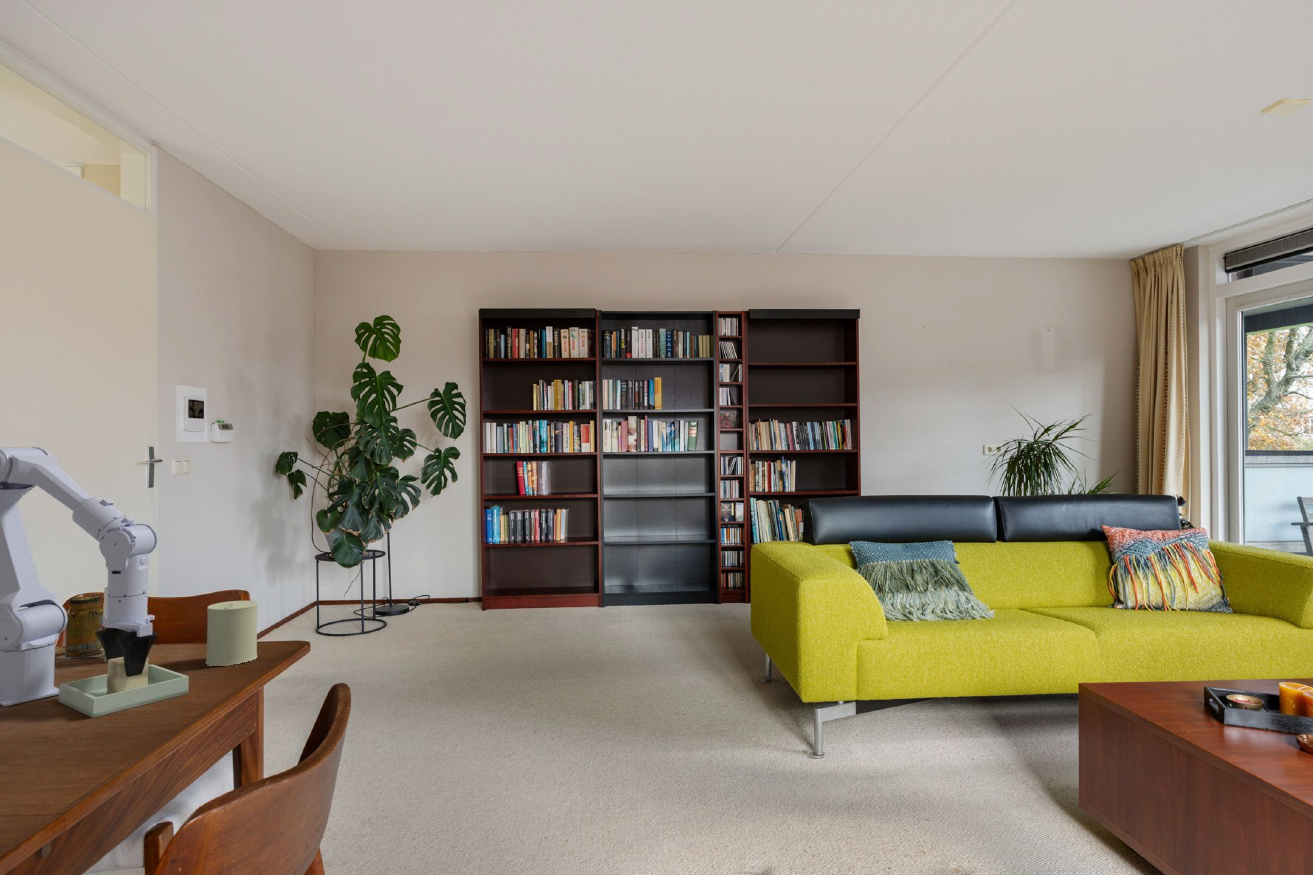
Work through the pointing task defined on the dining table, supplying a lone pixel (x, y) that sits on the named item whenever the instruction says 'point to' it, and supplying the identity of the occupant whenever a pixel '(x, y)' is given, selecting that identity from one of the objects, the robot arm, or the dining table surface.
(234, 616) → the can
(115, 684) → the birch block
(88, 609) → the condiment
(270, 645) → the dining table surface
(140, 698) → the bin
